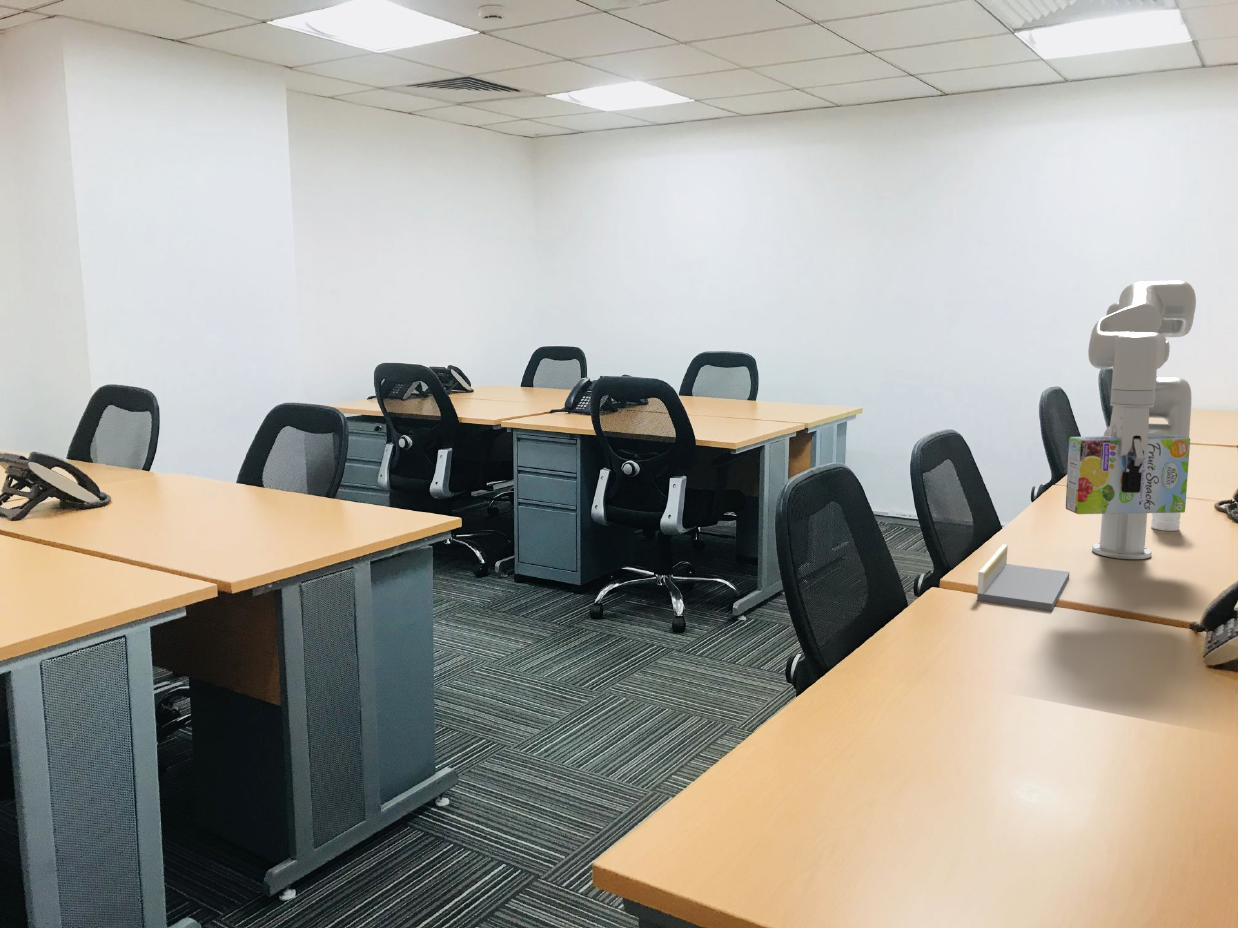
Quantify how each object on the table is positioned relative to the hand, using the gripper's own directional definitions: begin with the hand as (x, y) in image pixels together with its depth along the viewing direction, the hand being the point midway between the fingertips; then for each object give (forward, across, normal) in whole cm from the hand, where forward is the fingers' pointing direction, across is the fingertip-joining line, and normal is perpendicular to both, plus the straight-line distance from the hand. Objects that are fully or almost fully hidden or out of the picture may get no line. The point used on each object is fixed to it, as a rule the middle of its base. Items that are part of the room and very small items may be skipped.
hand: (1125, 487), depth 187 cm
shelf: (+23, -5, -16) cm, 29 cm away
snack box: (+5, 0, 0) cm, 5 cm away
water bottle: (+24, -71, +30) cm, 81 cm away
